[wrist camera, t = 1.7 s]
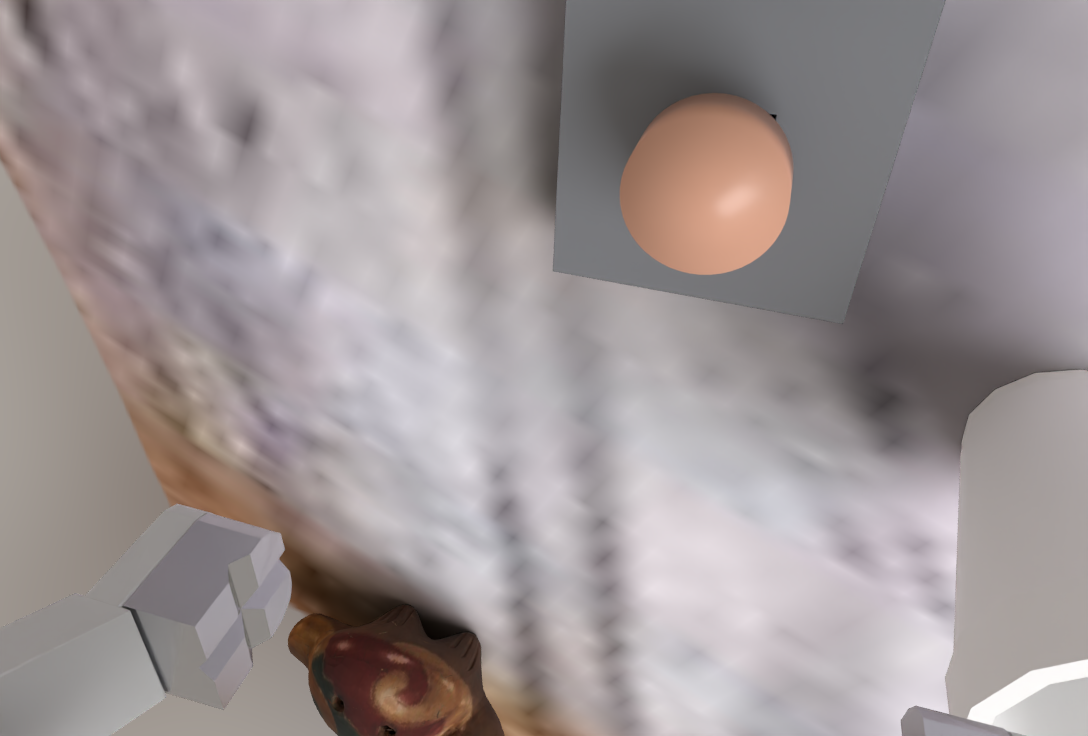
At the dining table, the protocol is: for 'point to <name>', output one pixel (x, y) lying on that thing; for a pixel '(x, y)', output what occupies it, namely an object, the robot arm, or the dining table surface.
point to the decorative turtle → (394, 677)
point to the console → (773, 84)
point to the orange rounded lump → (708, 184)
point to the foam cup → (1024, 559)
